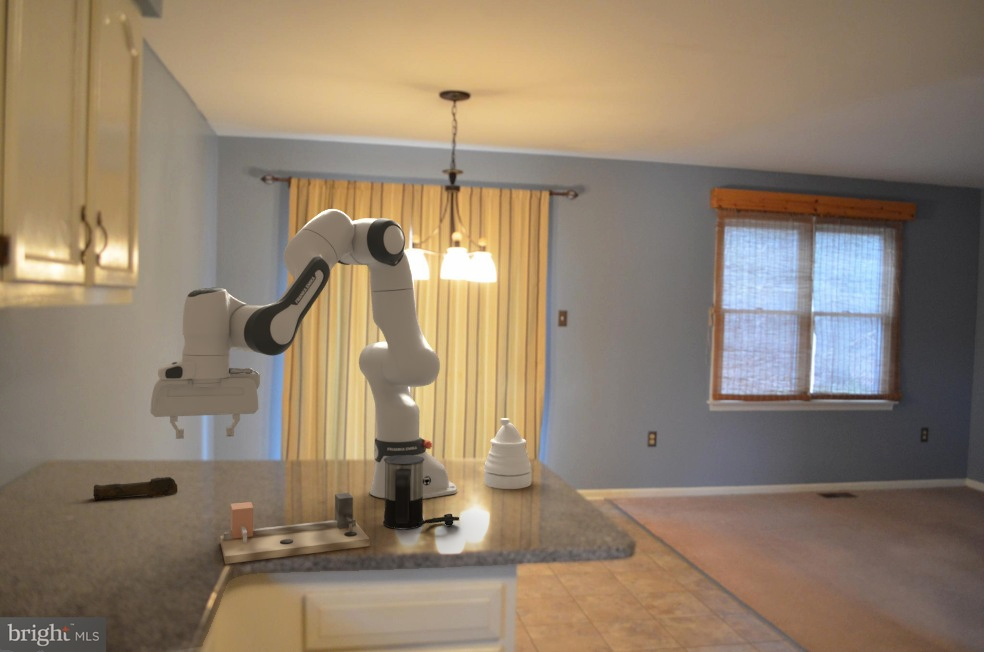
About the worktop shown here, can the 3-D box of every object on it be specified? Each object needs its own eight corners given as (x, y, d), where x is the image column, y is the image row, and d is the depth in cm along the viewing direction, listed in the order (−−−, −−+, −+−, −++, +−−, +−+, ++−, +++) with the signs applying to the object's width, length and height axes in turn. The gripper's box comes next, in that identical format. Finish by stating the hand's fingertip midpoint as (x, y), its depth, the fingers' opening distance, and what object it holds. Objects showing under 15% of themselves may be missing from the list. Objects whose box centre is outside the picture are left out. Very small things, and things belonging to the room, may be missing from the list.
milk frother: (378, 519, 173) (379, 455, 172) (444, 513, 179) (444, 451, 178) (394, 539, 160) (394, 469, 159) (464, 531, 165) (465, 464, 165)
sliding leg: (250, 530, 158) (250, 501, 157) (255, 544, 149) (255, 513, 149) (230, 533, 156) (230, 503, 156) (234, 546, 148) (234, 516, 147)
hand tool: (92, 502, 184) (92, 484, 184) (95, 498, 188) (95, 479, 188) (176, 497, 190) (176, 479, 189) (177, 493, 193) (177, 475, 193)
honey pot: (516, 491, 199) (517, 423, 198) (475, 484, 205) (476, 418, 204) (539, 481, 209) (540, 417, 209) (499, 475, 216) (500, 412, 215)
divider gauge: (354, 527, 167) (354, 491, 166) (369, 545, 155) (369, 507, 154) (220, 542, 156) (220, 504, 155) (225, 564, 144) (224, 522, 143)
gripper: (258, 366, 158) (257, 432, 158) (151, 367, 150) (150, 436, 151) (261, 369, 152) (260, 437, 153) (150, 370, 144) (149, 442, 145)
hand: (205, 437), depth 151 cm, fingers open, 8 cm apart
